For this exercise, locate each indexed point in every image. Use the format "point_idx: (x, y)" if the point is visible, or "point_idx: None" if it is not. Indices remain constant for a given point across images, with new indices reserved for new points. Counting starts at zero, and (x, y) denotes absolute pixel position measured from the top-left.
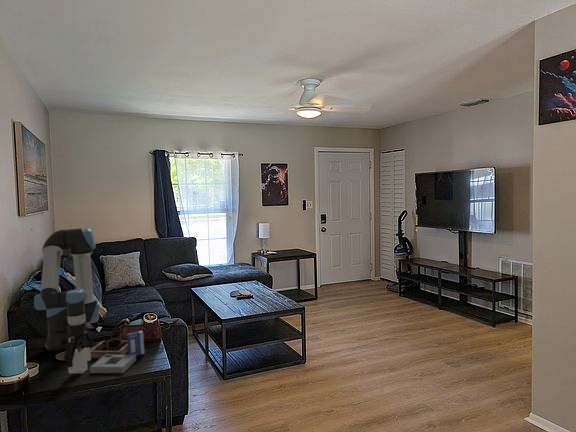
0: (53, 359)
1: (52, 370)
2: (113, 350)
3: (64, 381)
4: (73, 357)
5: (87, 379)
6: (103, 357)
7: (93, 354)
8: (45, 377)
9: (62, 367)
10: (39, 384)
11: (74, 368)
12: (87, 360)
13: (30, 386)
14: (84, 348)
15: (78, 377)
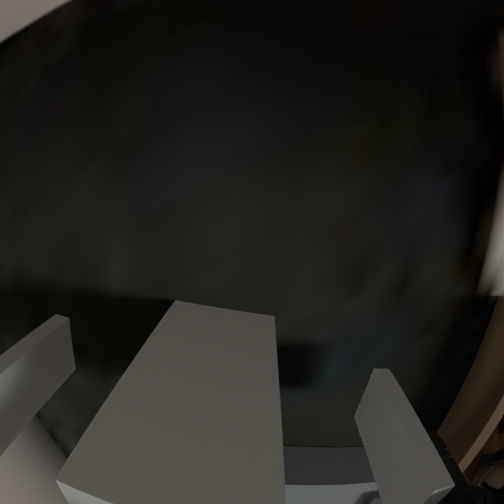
0: (497, 4)
1: (283, 30)
2: (473, 468)
3: (34, 279)
4: (100, 426)
5: (82, 423)
6: (357, 492)
7: (499, 361)
8: (119, 50)
9: (352, 104)
10: (13, 96)
11: (45, 390)
12: (366, 393)
13: (7, 55)
14: (430, 486)
15: (98, 366)
